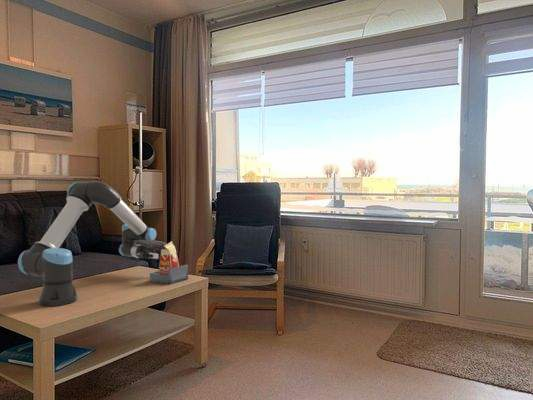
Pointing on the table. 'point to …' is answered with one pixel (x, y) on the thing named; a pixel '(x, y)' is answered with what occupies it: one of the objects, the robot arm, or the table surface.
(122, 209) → the robot arm
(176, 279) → the rack bay
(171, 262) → the milk carton
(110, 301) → the table surface
